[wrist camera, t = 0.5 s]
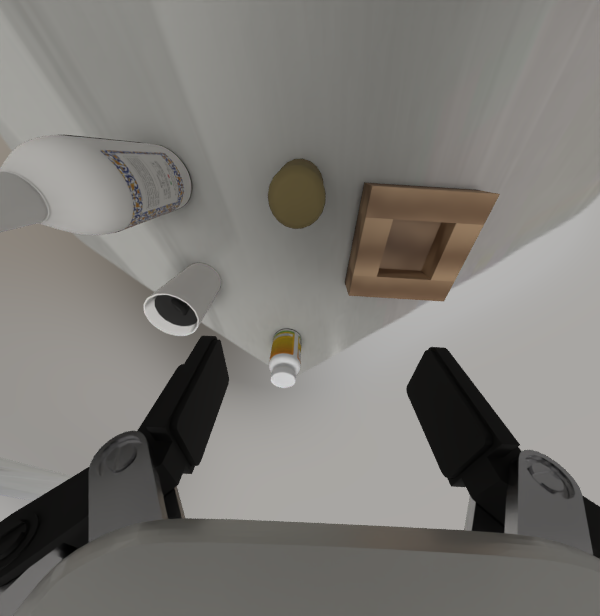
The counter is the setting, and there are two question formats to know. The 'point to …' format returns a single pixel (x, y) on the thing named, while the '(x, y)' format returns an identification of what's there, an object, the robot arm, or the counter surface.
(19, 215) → the bath foam
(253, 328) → the counter surface
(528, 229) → the counter surface
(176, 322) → the white cylindrical cup
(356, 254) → the socket block
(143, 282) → the counter surface
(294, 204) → the olive brown peg
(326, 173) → the counter surface
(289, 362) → the supplement bottle
